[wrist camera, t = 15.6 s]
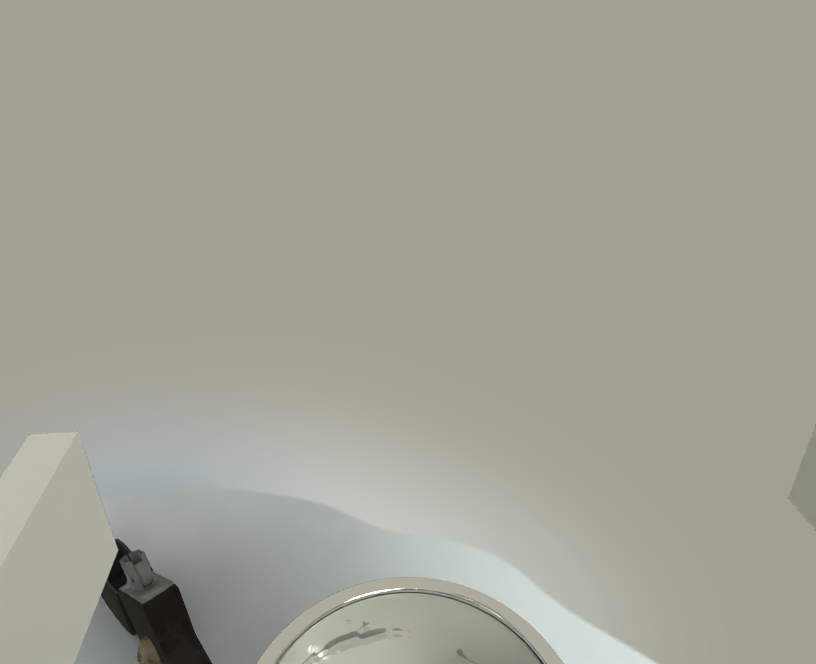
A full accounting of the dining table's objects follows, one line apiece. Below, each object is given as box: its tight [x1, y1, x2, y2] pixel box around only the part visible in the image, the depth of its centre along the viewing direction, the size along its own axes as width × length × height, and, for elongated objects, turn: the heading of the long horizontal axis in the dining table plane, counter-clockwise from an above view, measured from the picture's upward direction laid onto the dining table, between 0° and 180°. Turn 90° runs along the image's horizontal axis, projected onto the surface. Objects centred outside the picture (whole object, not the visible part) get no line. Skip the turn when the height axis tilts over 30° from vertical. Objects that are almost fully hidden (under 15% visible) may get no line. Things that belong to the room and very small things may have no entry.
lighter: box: [101, 539, 212, 664], centre depth 28 cm, size 9×2×6 cm
